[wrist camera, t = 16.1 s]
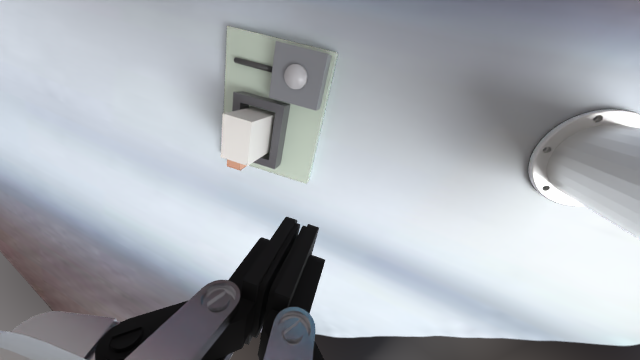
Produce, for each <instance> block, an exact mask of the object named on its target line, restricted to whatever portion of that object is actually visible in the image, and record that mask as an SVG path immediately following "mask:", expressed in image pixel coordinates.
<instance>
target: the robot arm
mask: <svg viewBox="0 0 640 360" xmlns="http://www.w3.org/2000/svg"><path fill="white" fill-rule="evenodd" d="M529 177H530V181H531V183H532V184H533V186H534V188H535V189H536V190H537V191H538V192H539V193H540V194H542V195H543V196H545V197H546V198H548V199H550V200H552V201H554V202H556V203H560V204H563V205H570V206H585V207H587V208H588V209H590V210H592V211H593V212H595V213H597V214H598V215H600V216H602V217H603V218H605V219H606V220H608V221H610V222H611V223H613V224H615V225H616V226H618V227H620V228H621V229H623V230H625V231H626V232H628V233H630V234H631V235H633V236H635V237H636V238H638V239H639V240H640V114H638V113H635V112H631V111H624V110H612V109H606V110H596V111H592V112H588V113H584V114H581V115H578V116H576V117H573V118H571V119H569V120H567V121H565V122H563V123H561V124H560V125H558V126H557V127H555V128H554V129H553V130H551V131H550V132H549V133H548V134H547V135H546V136H545V137H544V138H543V139H542V140H541V141H540V142H539V144H538V145H537V146H536V148H535V149H534V151H533V153H532V155H531V158H530V162H529ZM299 228H300V224H297V220H295V219H292V218H289V217H285V219H284V220H283V222H282V223H281V225H280V226H279V228H278V229H277V231H276V232H275V233H274V235H273V236H272V238H271V239H270V240H268V239H265V238H260V239H259V240H258V242H257V243H256V244H255V246H254V247H253V248H252V249H251V251H250V252H249V253H248V255H247V256H246V257H245V259H244V260H243V261H242V263H241V264H240V265H239V267H238V268H237V269H236V271H235V272H234V273H233V275H232V276H231V277H230V279H229V280H217V281H213V282H211V283H208V284H207V285H206V286H204V287H203V288H202V289H201V290H200V291H198V292H197V293H196V294H195V295H194V296H193V297H192V298H191V299H190V300H189V301H185V302H182V303H179V304H176V305H172V306H169V307H166V308H163V309H159V310H156V311H153V312H150V313H146V314H143V315H140V316H136V317H133V318H130V319H127V320H125V321H123V322H118V321H116V318H110V317H102V316H94V315H86V314H77V313H69V312H61V311H49V312H45V313H41V314H38V315H35V316H33V317H31V318H29V319H27V320H25V321H24V322H23V323H21V324H20V325H18V326H17V327H15V328H14V329H13V330H12V331H11V332H6V331H0V360H229V359H230V358H231V356H232V354H233V352H235V351H237V350H239V349H241V348H242V347H243V345H244V343H245V344H249V343H250V341H251V339H252V337H256V338H257V337H258V335H259V333H260V331H261V329H262V333H261V338H260V339H261V341H260V346H259V351H258V356H259V360H324V359H323V357H322V355H321V353H320V351H319V349H318V347H317V345H316V343H315V341H314V339H315V324H314V321H313V318H312V317H311V316H310V314H309V313H310V310H311V306H312V303H313V300H314V296H315V293H316V289H317V286H318V283H319V279H320V276H321V273H322V269H323V266H324V262H325V260H324V259H322V258H319V257H316V256H313V255H312V251H313V248H314V244H315V240H316V237H317V233H318V230H319V227H316V226H313V225H310V224H308V225H307V227H306V226H303V227H302V228H301V230H300V232H299ZM298 232H299V234H298ZM262 326H263V327H262Z"/></svg>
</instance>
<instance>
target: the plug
mask: <svg viewBox="0 0 640 360" xmlns="http://www.w3.org/2000/svg"><path fill="white" fill-rule="evenodd" d="M274 119H275V113H273V112H269V111H266V110H262V109H259V108H256V107H251V108H246V109H241V110H237V111H232V112H227V113H223V117H222V139H221V158H224V159H227V166H228V167H231V168H234V169H237V170H242V169H243V168H245V167H246V166H248V165H250V164H251V163H253V162H254V161H256V160H257V159H259V158H261V157H262V156H264V155H265V154H267V153H268V152H270V148H271V140H272V133H273V126H274Z"/></svg>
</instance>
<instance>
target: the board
mask: <svg viewBox="0 0 640 360" xmlns="http://www.w3.org/2000/svg"><path fill="white" fill-rule="evenodd" d="M337 57H338V53H336V52H332V51H328V50H324V49H320V48H316V47H312V46H308V45H304V44H300V43H296V42H292V41H287V40H283V39H279V38H275V37H271V36H267V35H263V34H259V33H255V32H251V31H246V30H242V29H238V28H234V27H230V26H227V40H226V65H225V89H224V113H227V112H232V111H237V110H241V109H246V108H251V107H256V108H259V109H262V110H266V111H269V112H273V113H275V119H274V126H273V133H272V140H271V148H270V152H268V153H267V154H265V155H264V156H262V157H261V158H259V159H257V160H256V161H254V162H253V163H251V164H250V165H249V166H252V167H255V168H258V169H261V170H265V171H268V172H271V173H274V174H277V175H280V176H284V177H287V178H290V179H293V180H296V181H299V182H303V183H306V184H307V183H308V181H309V178H310V174H311V170H312V165H313V161H314V157H315V152H316V148H317V144H318V139H319V135H320V131H321V126H322V122H323V118H324V113H325V109H326V105H327V100H328V96H329V91H330V87H331V83H332V78H333V74H334V70H335V65H336V61H337Z"/></svg>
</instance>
